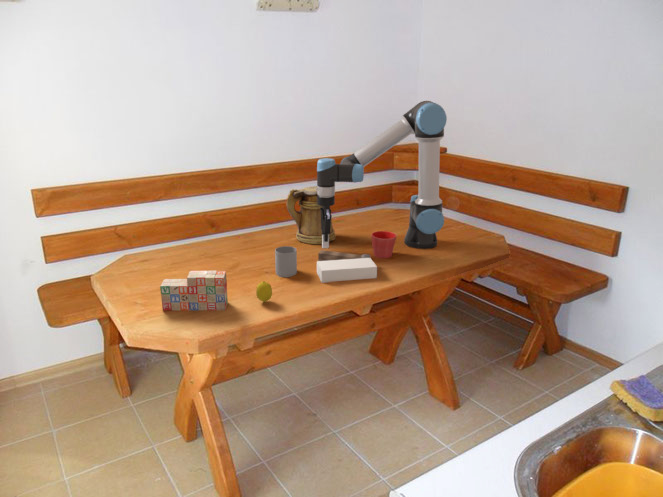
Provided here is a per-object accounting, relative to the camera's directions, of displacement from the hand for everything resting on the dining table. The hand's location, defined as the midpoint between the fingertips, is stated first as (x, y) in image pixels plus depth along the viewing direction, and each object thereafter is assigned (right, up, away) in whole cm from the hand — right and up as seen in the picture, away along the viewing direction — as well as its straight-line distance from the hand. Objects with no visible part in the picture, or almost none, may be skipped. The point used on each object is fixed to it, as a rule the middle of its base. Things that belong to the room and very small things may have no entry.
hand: (325, 247), depth 235 cm
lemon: (-21, -20, -47) cm, 55 cm away
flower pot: (+25, -4, -2) cm, 25 cm away
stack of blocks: (-44, -21, -50) cm, 70 cm away
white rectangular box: (+9, -11, -23) cm, 27 cm away
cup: (-15, -10, -21) cm, 28 cm away
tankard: (-7, +4, +18) cm, 20 cm away
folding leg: (+8, -7, -12) cm, 16 cm away
